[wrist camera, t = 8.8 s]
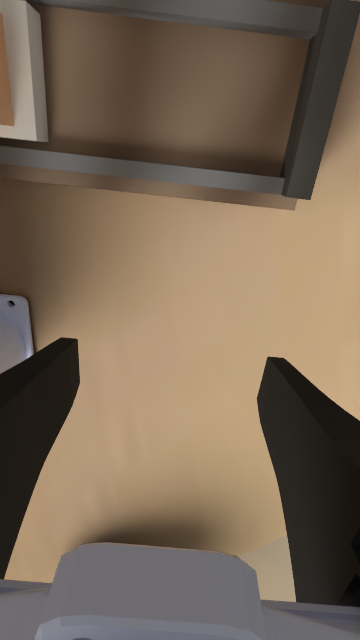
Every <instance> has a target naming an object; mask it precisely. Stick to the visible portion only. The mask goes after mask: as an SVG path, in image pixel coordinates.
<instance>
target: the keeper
mask: <svg viewBox="0 0 360 640" xmlns="http://www.w3.org/2000/svg"><path fill="white" fill-rule="evenodd" d="M0 137H4V138H13V139H21V140H30V141H40V142H49V141H48V126H47V111H46V96H45V80H44V65H43V50H42V35H41V19H40V14H39V13H38V12H37V11H36V10H35V9H34V8H33V7H32V6H31V5H29V4H28V3H27V2H26V1H23V0H0Z"/></svg>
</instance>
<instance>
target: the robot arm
mask: <svg viewBox="0 0 360 640" xmlns="http://www.w3.org/2000/svg"><path fill="white" fill-rule="evenodd" d="M10 300H11V301H13V302H14V303H15V305H12V304H11V303H10ZM79 384H80V375H79V356H78V339H73V338H62V337H61V338H59V339H58V340H56V341H54V342H53V343H51V344H49V345H48V346H46V347H45V348H43V349H42V350H40V351H38V352H37V353H35V354H34V352H33V343H32V334H31V325H30V316H29V307H28V301H27V300H26V299H25V298H24V297H22V296H15V295H5V294H0V640H360V421H359V420H358V419H356V418H355V417H353V416H352V415H350V414H349V413H348V412H346V411H345V410H344V409H342V408H341V407H340V406H339V405H337V404H336V403H335V402H333V401H332V400H331V399H330V398H328V397H327V396H326V395H325V394H324V393H322V392H321V391H320V390H319V389H318V388H317V387H316V386H314V385H313V384H312V383H311V382H310V381H309V380H308V379H307V378H306V377H304V376H303V375H302V374H301V373H300V372H299V371H298V370H297V369H296V368H295V367H294V366H292V365H291V364H290V363H289V362H288V361H287V360H285V359H284V358H278V357H267V361H266V365H265V369H264V373H263V377H262V381H261V385H260V389H259V393H258V397H257V403H258V411H259V417H260V423H261V426H262V430H263V434H264V437H265V440H266V444H267V447H268V451H269V454H270V457H271V461H272V464H273V467H274V471H275V474H276V478H277V482H278V486H279V491H280V496H281V502H282V507H283V512H284V518H285V524H286V531H287V537H288V543H289V549H290V557H291V563H292V570H293V578H294V586H295V595H296V602H285V601H271V600H260V594H259V588H258V582H257V575H256V571H255V570H254V569H252V568H251V567H250V566H249V565H248V564H246V563H245V562H244V561H242V560H241V559H240V558H239V557H237V556H234V555H230V554H226V553H222V552H218V551H209V550H197V549H185V548H172V547H160V546H148V545H135V544H123V543H110V542H101V543H88V544H82V545H80V546H78V547H76V548H75V549H73V550H71V551H69V552H67V553H65V554H64V555H62V556H61V559H60V562H59V564H58V567H57V570H56V573H55V576H54V579H53V582H52V583H42V582H29V581H16V580H4V577H5V573H6V570H7V567H8V564H9V560H10V557H11V554H12V551H13V548H14V545H15V542H16V539H17V536H18V533H19V530H20V527H21V524H22V521H23V518H24V515H25V513H26V510H27V507H28V504H29V501H30V498H31V496H32V493H33V490H34V488H35V485H36V482H37V480H38V477H39V474H40V472H41V469H42V467H43V464H44V462H45V460H46V458H47V456H48V454H49V452H50V450H51V448H52V446H53V444H54V442H55V440H56V438H57V436H58V434H59V432H60V430H61V428H62V426H63V424H64V422H65V420H66V418H67V416H68V414H69V412H70V409H71V407H72V405H73V402H74V399H75V397H76V394H77V390H78V387H79Z"/></svg>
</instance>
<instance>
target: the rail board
mask: <svg viewBox="0 0 360 640" xmlns="http://www.w3.org/2000/svg"><path fill="white" fill-rule="evenodd" d="M23 1H26V2H27V3H28V4H29V5H31V6H32V7H33V8H34V9H35V10H36V11H37V12H38V13H39V14H40V19H41V35H42V50H43V65H44V80H45V96H46V111H47V126H48V141H49V142H40V141H30V140H21V139H13V138H4V137H0V178H6V179H15V180H24V181H33V182H42V183H51V184H60V185H69V186H78V187H87V188H96V189H105V190H114V191H123V192H132V193H141V194H150V195H159V196H168V197H177V198H187V199H196V200H205V201H214V202H223V203H232V204H241V205H250V206H259V207H268V208H277V209H286V210H295V206H296V202H297V199H306V200H310V199H311V196H312V192H313V188H314V184H315V180H316V177H317V173H318V169H319V165H320V161H321V158H322V154H323V150H324V146H325V143H326V139H327V135H328V131H329V127H330V124H331V120H332V116H333V112H334V108H335V105H336V101H337V97H338V93H339V89H340V86H341V82H342V78H343V74H344V71H345V67H346V63H347V59H348V55H349V52H350V48H351V44H352V40H353V36H354V33H355V29H356V25H357V21H358V18H359V14H360V2H357V1H349V0H23Z"/></svg>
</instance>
